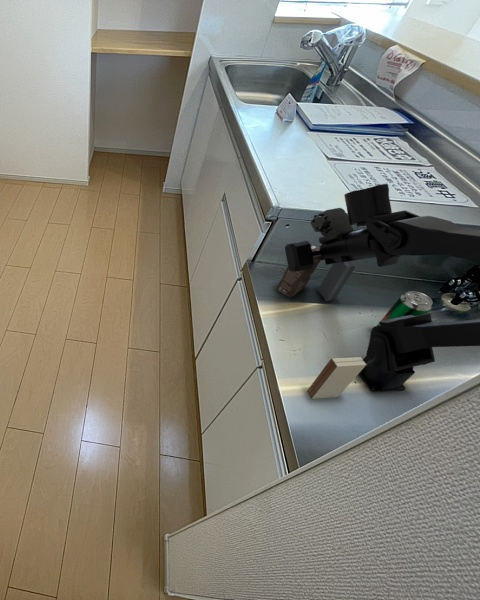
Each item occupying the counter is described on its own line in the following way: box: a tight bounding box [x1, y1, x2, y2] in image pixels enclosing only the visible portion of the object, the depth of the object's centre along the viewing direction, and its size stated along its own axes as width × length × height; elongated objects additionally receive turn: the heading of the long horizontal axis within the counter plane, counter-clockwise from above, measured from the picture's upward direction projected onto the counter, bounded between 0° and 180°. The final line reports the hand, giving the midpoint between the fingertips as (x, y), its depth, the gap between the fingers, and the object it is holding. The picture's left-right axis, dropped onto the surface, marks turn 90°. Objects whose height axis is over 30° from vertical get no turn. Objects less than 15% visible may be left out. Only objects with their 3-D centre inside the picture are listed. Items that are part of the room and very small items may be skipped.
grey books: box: [317, 261, 356, 302], centre depth 83 cm, size 4×2×11 cm, turn 1°
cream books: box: [306, 356, 366, 400], centre depth 64 cm, size 2×5×11 cm, turn 91°
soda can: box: [376, 290, 434, 326], centre depth 72 cm, size 5×5×12 cm
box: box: [276, 244, 321, 298], centre depth 85 cm, size 6×4×12 cm
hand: (300, 255), depth 84 cm, fingers closed on box, 7 cm apart
